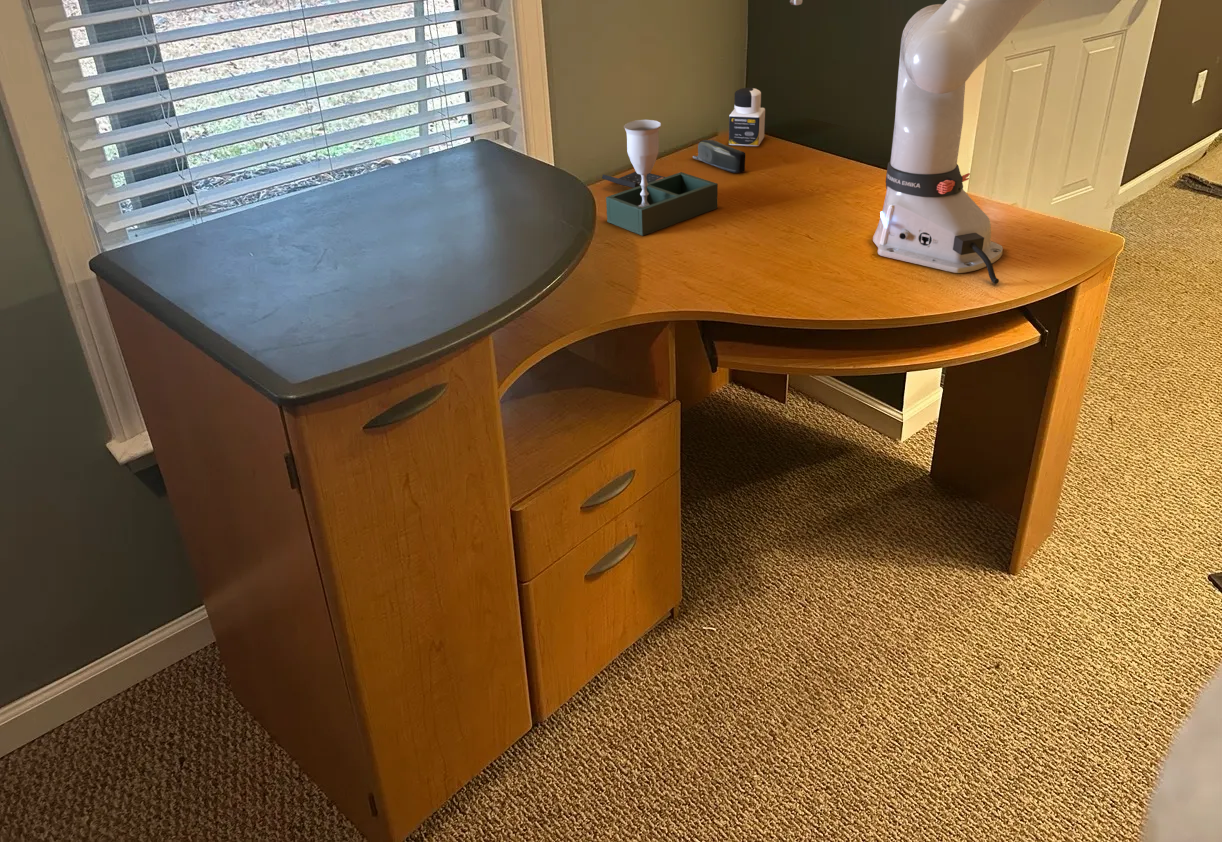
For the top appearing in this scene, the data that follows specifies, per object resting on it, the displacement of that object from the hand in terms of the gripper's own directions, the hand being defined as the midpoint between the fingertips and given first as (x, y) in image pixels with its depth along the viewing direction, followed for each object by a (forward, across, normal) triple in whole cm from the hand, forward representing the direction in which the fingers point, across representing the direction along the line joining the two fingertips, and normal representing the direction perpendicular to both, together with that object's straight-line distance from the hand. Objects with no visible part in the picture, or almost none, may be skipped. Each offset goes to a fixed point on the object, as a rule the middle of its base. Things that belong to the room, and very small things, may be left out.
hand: (776, 1), depth 181 cm
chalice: (+36, +8, +27) cm, 46 cm away
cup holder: (+37, +8, +22) cm, 44 cm away
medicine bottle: (+37, +29, -24) cm, 53 cm away
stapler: (+37, +21, -7) cm, 43 cm away
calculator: (+37, +25, +14) cm, 47 cm away
